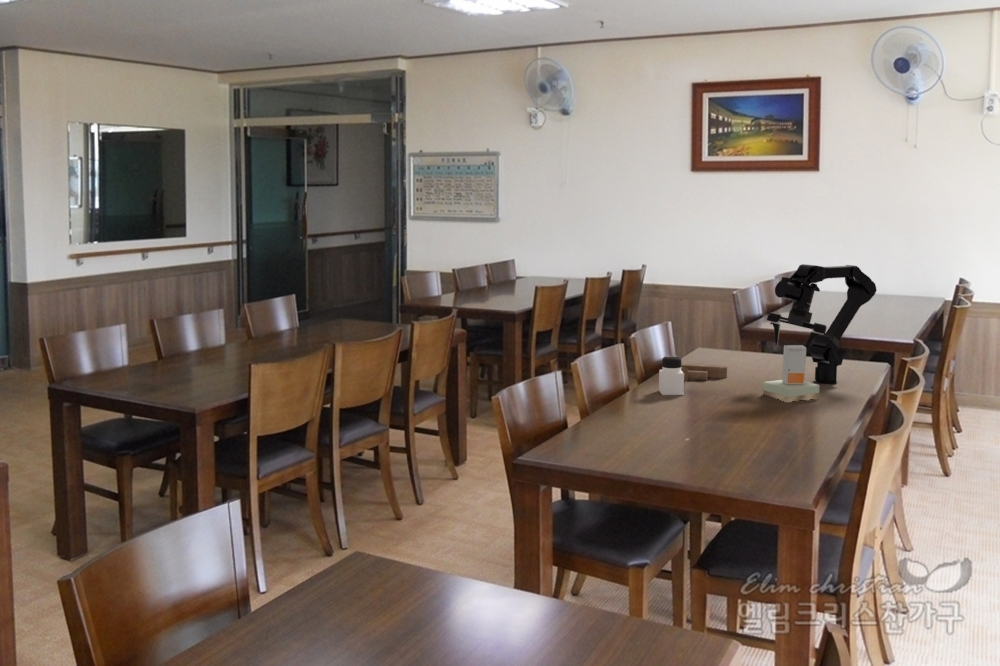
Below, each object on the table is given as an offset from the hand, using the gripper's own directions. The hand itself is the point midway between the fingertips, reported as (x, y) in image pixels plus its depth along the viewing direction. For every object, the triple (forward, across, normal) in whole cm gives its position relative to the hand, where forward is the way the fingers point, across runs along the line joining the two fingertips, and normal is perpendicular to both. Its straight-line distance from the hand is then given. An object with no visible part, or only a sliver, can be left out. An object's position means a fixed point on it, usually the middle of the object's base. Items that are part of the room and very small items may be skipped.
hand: (790, 348), depth 311 cm
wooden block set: (+19, -27, +2) cm, 33 cm away
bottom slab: (+15, +5, -15) cm, 21 cm away
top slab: (+12, +4, -15) cm, 20 cm away
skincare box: (+10, +5, -15) cm, 19 cm away
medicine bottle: (+22, -31, -21) cm, 43 cm away
